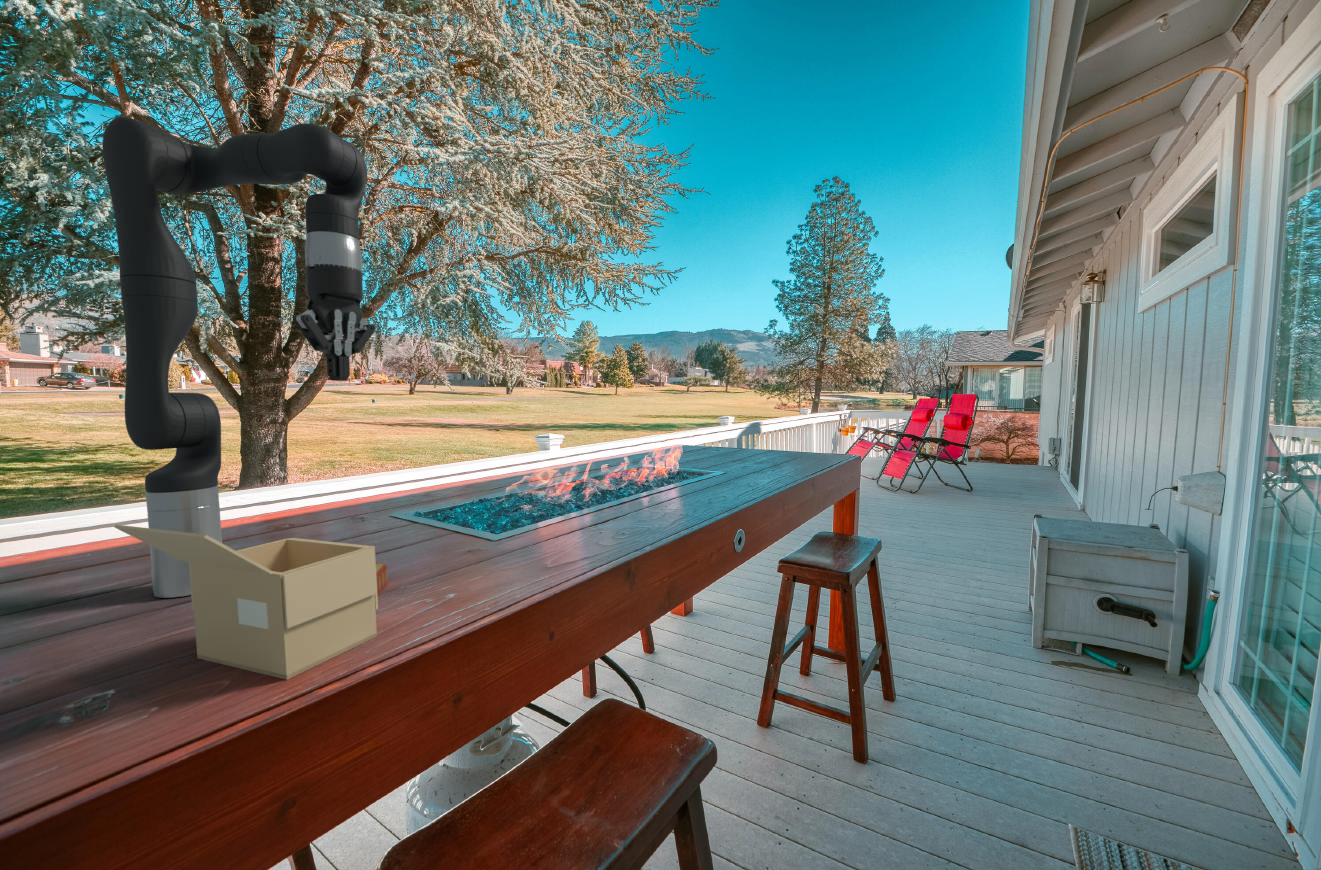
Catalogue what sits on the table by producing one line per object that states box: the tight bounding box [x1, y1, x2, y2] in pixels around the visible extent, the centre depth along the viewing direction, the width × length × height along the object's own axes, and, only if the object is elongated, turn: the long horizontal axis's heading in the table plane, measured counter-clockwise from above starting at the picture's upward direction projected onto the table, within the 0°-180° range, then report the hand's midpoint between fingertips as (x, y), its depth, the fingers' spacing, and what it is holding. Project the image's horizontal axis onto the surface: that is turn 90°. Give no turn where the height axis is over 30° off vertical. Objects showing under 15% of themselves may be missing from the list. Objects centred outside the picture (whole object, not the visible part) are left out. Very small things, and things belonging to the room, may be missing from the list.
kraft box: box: [189, 537, 379, 681], centre depth 70 cm, size 17×13×12 cm
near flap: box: [113, 524, 273, 574], centre depth 61 cm, size 16×8×1 cm
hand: (338, 380), depth 87 cm, fingers closed
